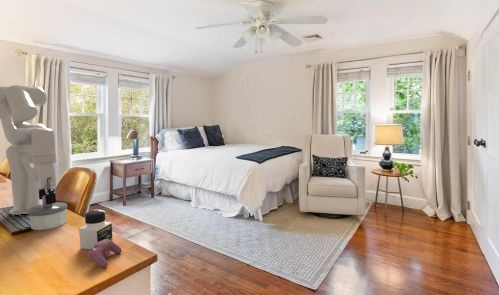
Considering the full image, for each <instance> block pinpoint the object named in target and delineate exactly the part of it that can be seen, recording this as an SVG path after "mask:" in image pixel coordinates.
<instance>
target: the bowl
mask: <svg viewBox="0 0 499 295" xmlns="http://www.w3.org/2000/svg"><path fill="white" fill-rule="evenodd" d="M67 219H68V218H67V209H66V210H64V211H62V212H59V213H55V214H51V215H44V216H30V215H29V224H30V228H31V230H33V231H45V230H46V231H47V230H52V229H56V228H59V227H61V226H63V225H65V224H66V223H67Z"/></svg>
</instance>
